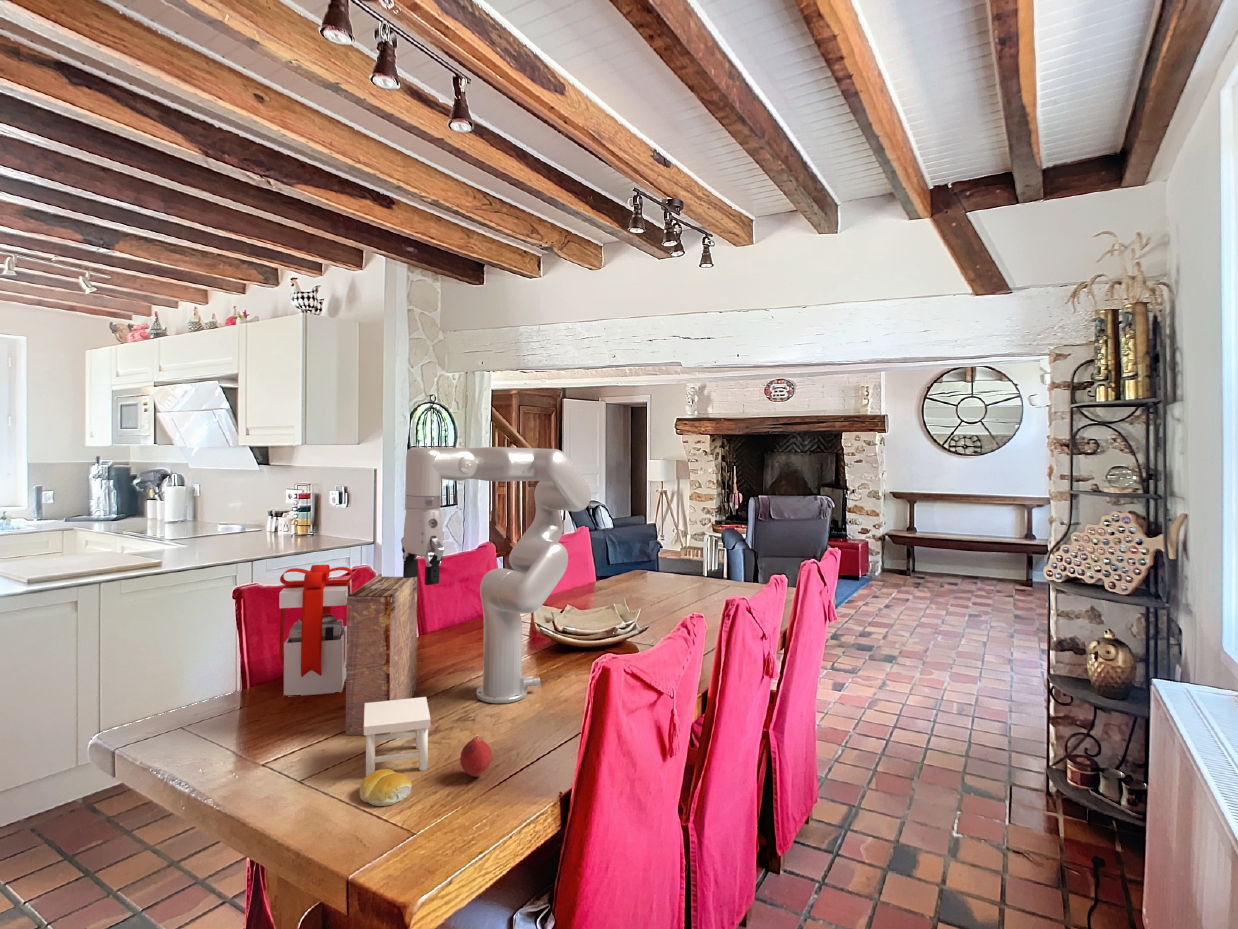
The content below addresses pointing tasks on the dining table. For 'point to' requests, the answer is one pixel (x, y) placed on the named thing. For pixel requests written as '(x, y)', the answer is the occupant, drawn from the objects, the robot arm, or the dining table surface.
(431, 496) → the robot arm
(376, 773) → the bread roll
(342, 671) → the gift wrap
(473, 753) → the onion
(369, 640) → the book
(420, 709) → the stool
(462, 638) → the dining table surface
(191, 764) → the dining table surface
